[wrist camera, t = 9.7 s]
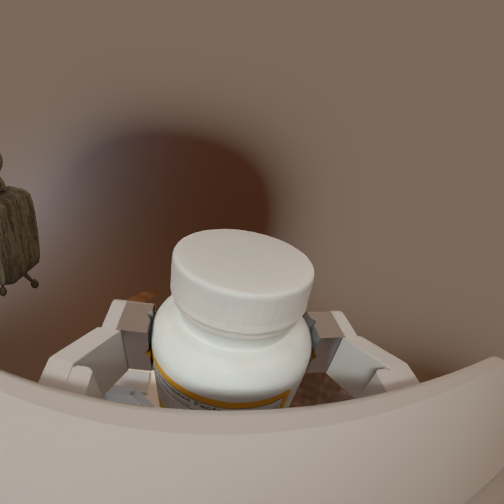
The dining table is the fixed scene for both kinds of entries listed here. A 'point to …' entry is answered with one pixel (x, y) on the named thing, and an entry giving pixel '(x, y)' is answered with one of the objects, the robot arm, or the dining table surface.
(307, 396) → the dining table surface
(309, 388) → the dining table surface
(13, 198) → the tabletop clock
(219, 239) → the supplement bottle
